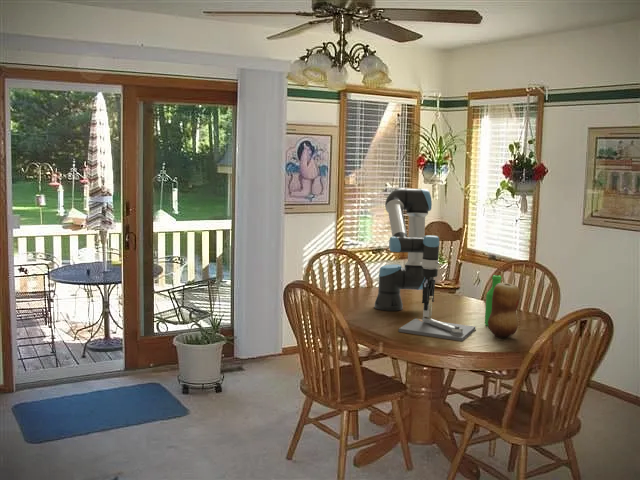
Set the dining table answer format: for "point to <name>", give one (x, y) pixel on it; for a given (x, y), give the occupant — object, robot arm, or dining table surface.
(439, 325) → the lever
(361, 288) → the dining table surface
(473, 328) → the lever board
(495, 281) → the bottle
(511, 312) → the butternut squash
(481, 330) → the dining table surface
